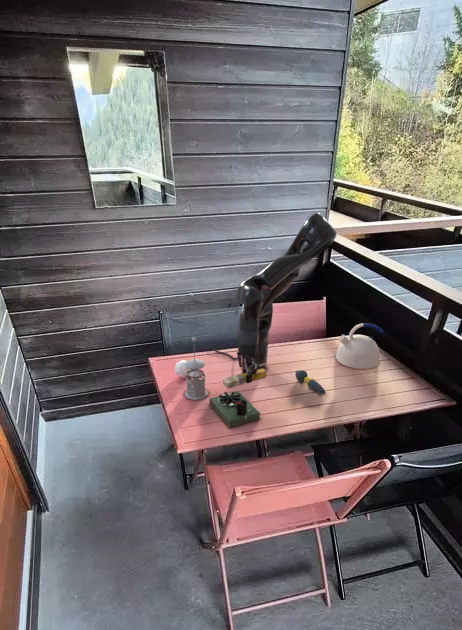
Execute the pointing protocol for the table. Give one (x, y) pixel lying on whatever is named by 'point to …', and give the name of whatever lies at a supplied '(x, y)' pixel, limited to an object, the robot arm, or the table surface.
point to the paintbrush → (309, 381)
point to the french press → (195, 378)
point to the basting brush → (243, 378)
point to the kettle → (358, 349)
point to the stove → (234, 412)
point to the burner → (229, 399)
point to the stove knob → (241, 407)
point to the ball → (181, 369)
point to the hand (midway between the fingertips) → (247, 380)
